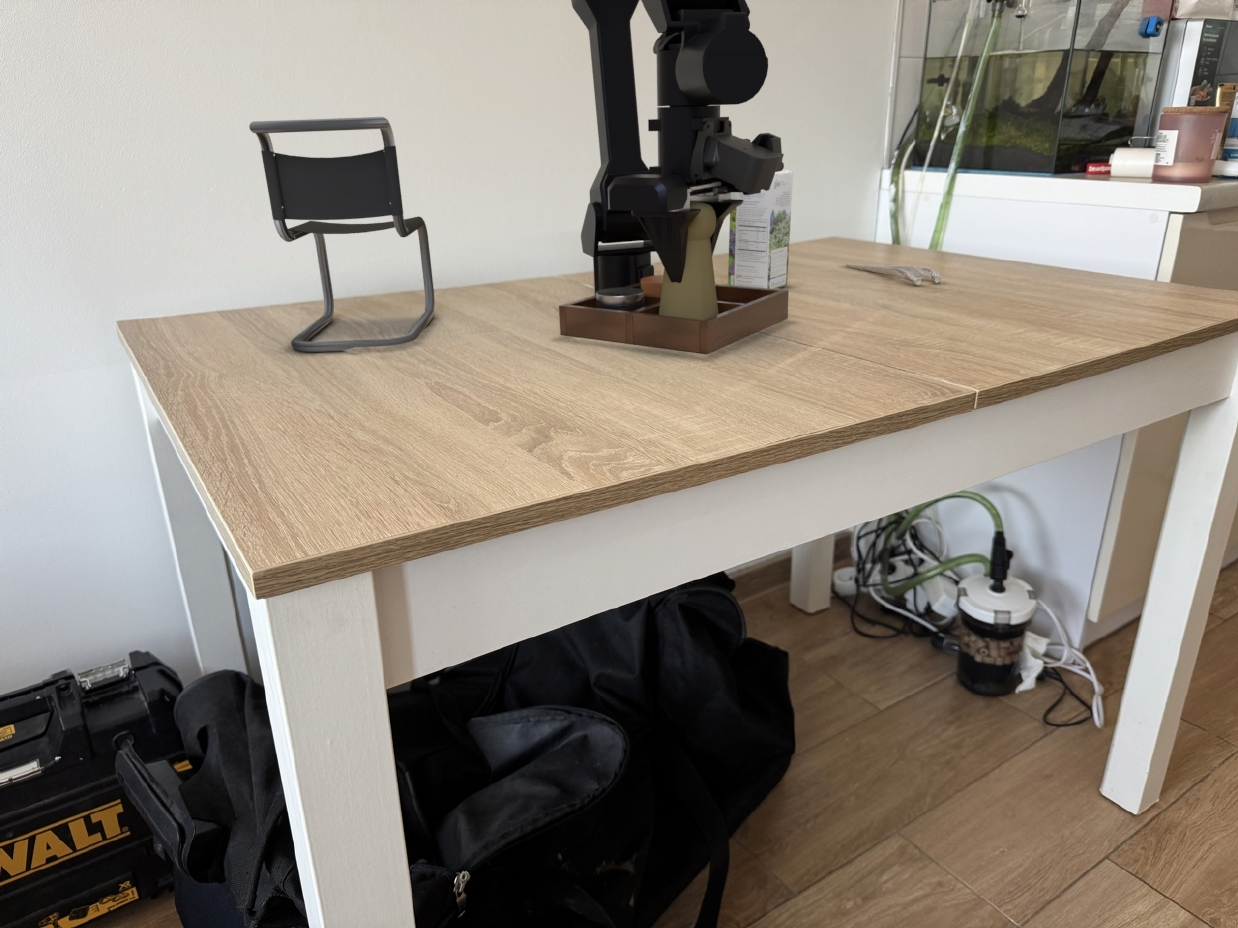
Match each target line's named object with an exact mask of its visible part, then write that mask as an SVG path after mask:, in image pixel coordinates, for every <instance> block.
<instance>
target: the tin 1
mask: <svg viewBox="0 0 1238 928" xmlns="http://www.w3.org/2000/svg"><path fill="white" fill-rule="evenodd" d="M643 307H645V291H644V290H642V289H639V288H629V287H619V288H608V289H603V290H599V291H597V292H596V308H601V309H610V310H619V311H628V312H631V311H634V310H637V309H640V308H643Z"/></svg>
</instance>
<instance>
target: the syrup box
mask: <svg viewBox="0 0 1238 928" xmlns="http://www.w3.org/2000/svg"><path fill="white" fill-rule="evenodd" d="M793 176H794V172H793V171H792V170H787V169H783V170H782V171H779V172H775V175H774V178H773V181H772V184H771V186H770V189H769V190H768V191H765V190H764V189H763V190H761V193H757V194H752V195H743V193H742V192H731V199H736V200H743V203H742V204H741V205H740V206H737V207H736V208H735V209H734V210H733V211H732V212H731V213H730V214H729V231H728V233H729V234H728V236H729V238H728V240H729V241H728V272H727V285H733V286H745V287H757V288H769V289H782V288H785V287H787V286H788V281H789V280H788V278H789V277H788V275H789V261H790V259H789V258H790V257H789V256H790V241H791V239H790V237H791V219H792V216H791V215H792V199H793V179H794V177H793Z"/></svg>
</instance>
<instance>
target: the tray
mask: <svg viewBox="0 0 1238 928" xmlns="http://www.w3.org/2000/svg"><path fill="white" fill-rule="evenodd" d="M625 287H629V288H639V289H641V282H638V283H635V284H631V285H628V286H625ZM715 287H716V296H717V304H718V313H719V314H718V315H716V316H713V317H710V318H708V319H705V320H701V319H692V318H683V317H674V316H665V315H659V308H660V299H661V295H650V294H645V307H643V308H640V309H637V310H634V311H631V312H628V311H619V310H610V309H601V308H596V295H595V294H593V295H590V296H587V297H584V298H581V299H577V300H574V301H570V302H567V303H563V304H560V305H558V315H559V333H560V334H559V335H560V336H564V337H571V338H572V337H573V338H579V339H580V338H581V339H586V340H587V339H588V340H595V341H601V342H602V341H603V342H609V343H617V344H625V345H632V346H639V347H647V348H654V349H655V348H656V349H661V350H671V351H678V352H683V353H684V352H686V353H693V354H701V355H709V354H711V353H714V352H716V351H718V350H720V349H723V348H726V347H727V346H729V345H731V344H734V343H737V342H739V341H741V340H744V339H745V338H747V337H750V336H753V335H754V334H756V333H758V332H761V331H763V330H765V329H768V328H770V327H772V326H775V325H776V324H779V323H781V322H783V321H785V320H788V317H789V315H788V314H789V292H790V291H789V290H788V289H782V288H773V289H769V288H757V287H745V286H733V285H728V284H720V283H715Z"/></svg>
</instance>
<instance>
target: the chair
mask: <svg viewBox="0 0 1238 928" xmlns="http://www.w3.org/2000/svg"><path fill="white" fill-rule="evenodd" d="M248 129H249V131H251V133H253V134H255V136H256V137H257V139H258V141H259V144H260V149H261V150H260V153H261V158H262V164H263V169H264V175H265V179H266V180H265V181H266V185H267V186H266V187H267V192H268V199H269V204H270V210H271V216H272V220H273V224H274V227H275V230H276V232H277V234H278V236H279V237H280V238H281V239H282V240H283V241H284V242H286V243H290V242H291V243H292V242H293V241H296V240H298V239H300V238H302V237H305V236H307V235H309V234H310V235H311V234H313V239H314V242H315V248H316V255H317V261H318V268H319V275H320V281H321V287H322V295H323V303H324V304H323V305H324V306H323V307H324V308H323V314H322V315H321V316H320V317H319V318H317V319H316V320H315V321H314V322H312V323H311V324H310V325H309V326H308V327H306V328H305V329H303V330H302V331H300V333H298V334H297V335H295V336H294V337H293V338H292V340H291V342H290V345H291V347H292V348H293V350H295V351H297V352H303V353H326V352H328V353H330V352H344V351H347V350H351V349H355V348H374V347H375V348H376V347H389V346H390V347H391V346H397V345H403V344H406V343H410V342H412V341H414V340H416V339H418V337H419V335H420V334H421V332H422V331H423V330H424V329H425V328H427V326H428V324H429V323H430V322H431V320H432V319H433V317H434V315H435V307H436V306H435V305H436V304H435V303H436V302H435V300H436V299H435V288H434V280H433V270H432V262H431V261H432V260H431V250H430V242H429V234H428V228H427V225H426V222H425V220H424V219H423V218H422V216H414V217H409V218H405V217H404V207H403V198H402V191H401V181H400V171H399V164H398V155H397V147H396V143H395V137H394V136H395V135H394V132H393V127H392V126H391V123H390V121H389V119H387V118H386V117H384V116H365V117H337V118H334V117H333V118H312V119H311V118H310V119H309V118H307V119H283V120H256V121H251V122H250V123H249V126H248ZM361 130H362V131H363V130H364V131H365V130H380V134H381V137H382V142H383V149H380V150H375V151H371V152H367V153H362V154H354V155H346V156H336V157H335V156H333V157H311V156H310V157H309V156H300V155H289V154H285V153H280V152H275V151H274V147H273V143H272V139H271V136H270V134H279V133H281V134H283V133H284V134H285V133H307V132H308V133H309V132H311V133H312V132H332V131H333V132H334V131H336V132H337V131H361ZM390 216H391V217H392V221H385V222H371V223H370V222H369V223H339V222H328V221H342V220H360V219H370V218H371V219H373V218H380V217H390ZM286 220H293V221H306V222H303V223H300V224H297V225H295V226H292V227H288V225H287V223H286ZM326 221H327V222H326ZM389 229H390V230H391V229H395V230H396V231H395V232H396V233H397V234H398V236H399V237H400V238H408V237H409V236H410V235H411V234H413V233H414V232H417V236H418V243H419V252H420V260H421V269H422V270H421V271H422V278H423V290H424V300H425V301H424V302H425V303H424V304H425V306H424V312H423V313H422V314H421V316H420V317H419V318H418V319H417V321H416V322H415V323H414V325H413V326H412V327H411V328H410V329H409V331H408V332H407V333H406V334H404V335H399V336H395V337H388V338H371V339H368V338H367V339H348V340H347V339H346V340H345V339H344V340H322V341H321V340H320V341H309V340H310V339H311V338H313V337H314V336H315V335H316V334H318V333H319V332H320V331H321V330H323V329H324V328H325V327H326V326H328V325H329V324H330V323H331V322H332V320H333V318H334V312H335V301H334V300H335V299H334V292H333V285H332V279H331V278H332V277H331V272H330V266H329V259H328V253H327V245H326V240H325V235H351V234H362V233H363V234H364V233H372V232H378V231H379V232H380V231H384V230H385V231H386V230H389Z"/></svg>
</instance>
